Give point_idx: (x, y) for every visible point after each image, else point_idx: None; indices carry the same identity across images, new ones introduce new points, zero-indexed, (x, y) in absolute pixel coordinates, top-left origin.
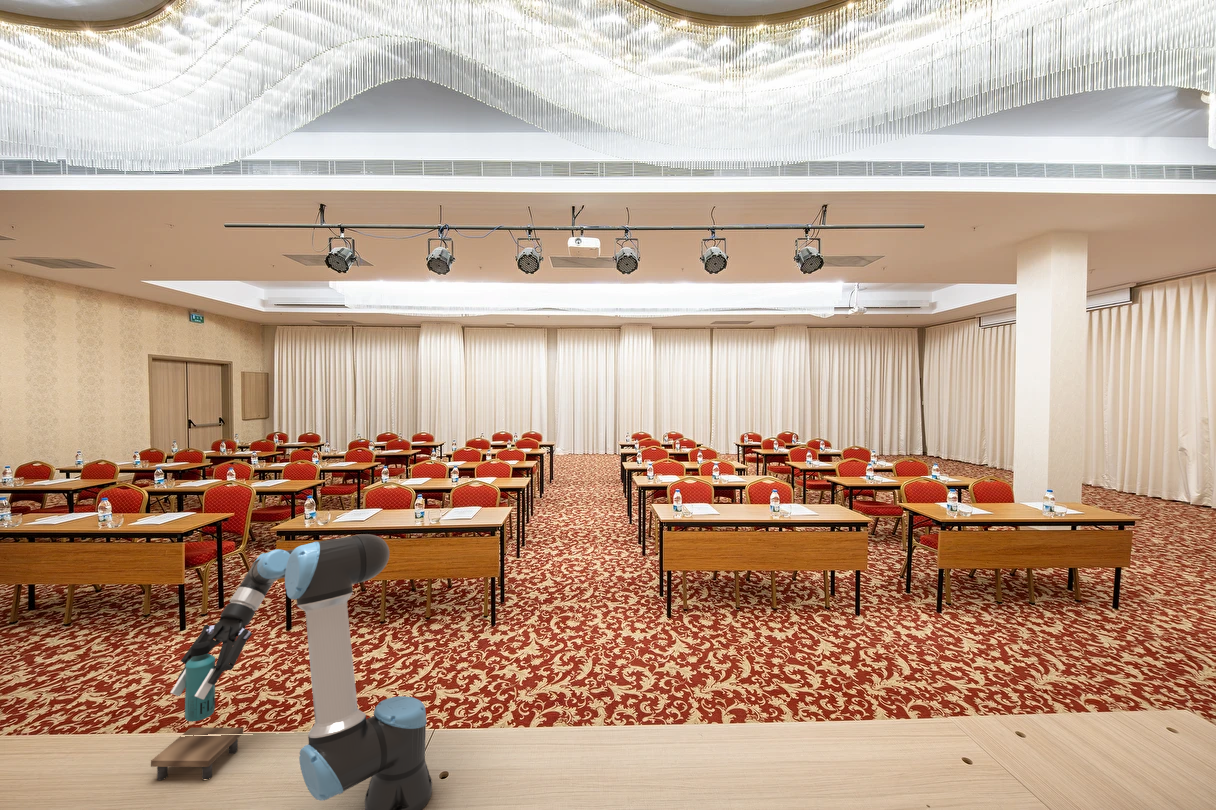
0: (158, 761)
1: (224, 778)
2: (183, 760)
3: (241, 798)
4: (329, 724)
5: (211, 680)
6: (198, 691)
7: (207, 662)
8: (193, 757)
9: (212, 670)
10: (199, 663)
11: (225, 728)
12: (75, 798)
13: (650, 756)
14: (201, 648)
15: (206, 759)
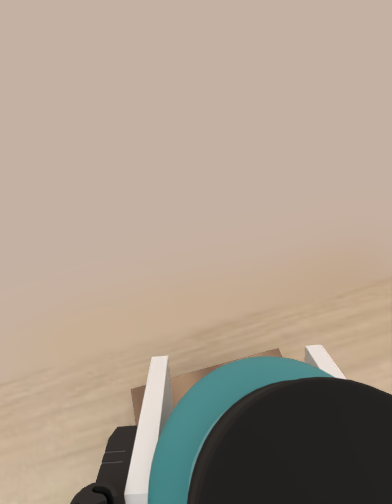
0: (260, 354)
1: (115, 419)
2: (198, 372)
3: (30, 375)
4: None
5: (119, 439)
6: (157, 369)
7: (158, 468)
8: (183, 389)
9: (128, 479)
10: (203, 407)
11: None
12: (357, 288)
13: None
14: (220, 446)
15: (140, 392)
